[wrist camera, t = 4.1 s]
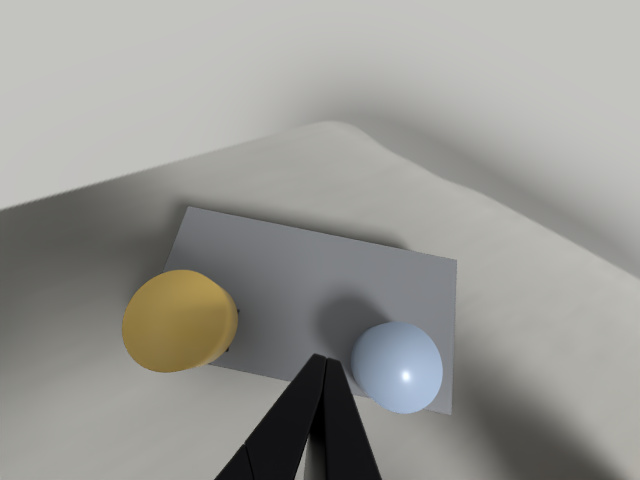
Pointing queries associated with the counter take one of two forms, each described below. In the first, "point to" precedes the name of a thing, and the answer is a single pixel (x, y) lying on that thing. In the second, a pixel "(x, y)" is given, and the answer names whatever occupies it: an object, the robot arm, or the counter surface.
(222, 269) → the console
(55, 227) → the counter surface
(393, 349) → the blue button
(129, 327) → the amber button
